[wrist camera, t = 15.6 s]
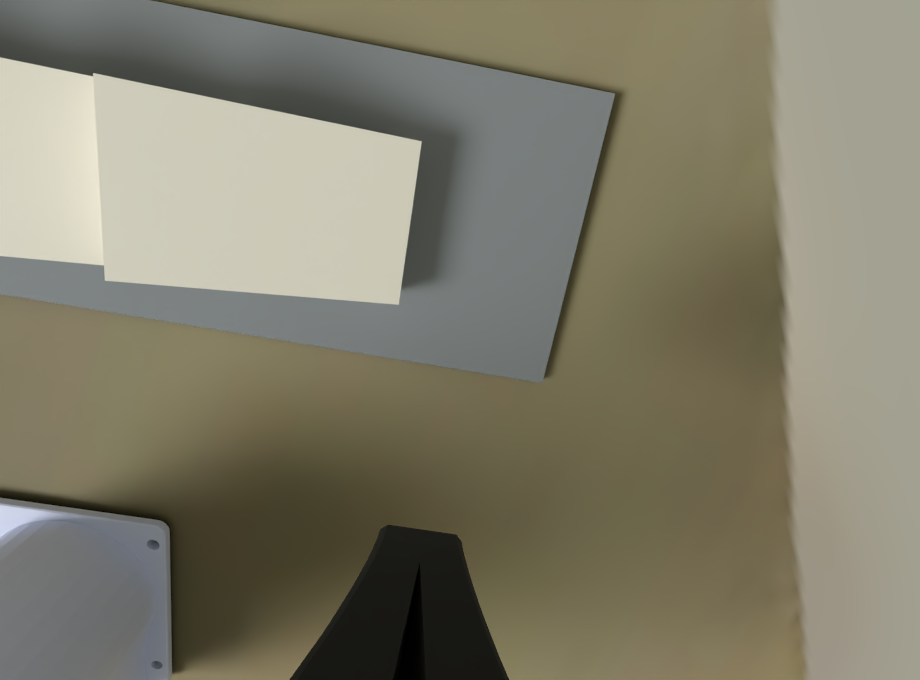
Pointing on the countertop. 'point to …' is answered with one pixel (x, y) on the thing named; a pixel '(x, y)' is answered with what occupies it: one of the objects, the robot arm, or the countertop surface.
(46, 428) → the countertop surface
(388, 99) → the domino mat
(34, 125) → the domino
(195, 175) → the domino
